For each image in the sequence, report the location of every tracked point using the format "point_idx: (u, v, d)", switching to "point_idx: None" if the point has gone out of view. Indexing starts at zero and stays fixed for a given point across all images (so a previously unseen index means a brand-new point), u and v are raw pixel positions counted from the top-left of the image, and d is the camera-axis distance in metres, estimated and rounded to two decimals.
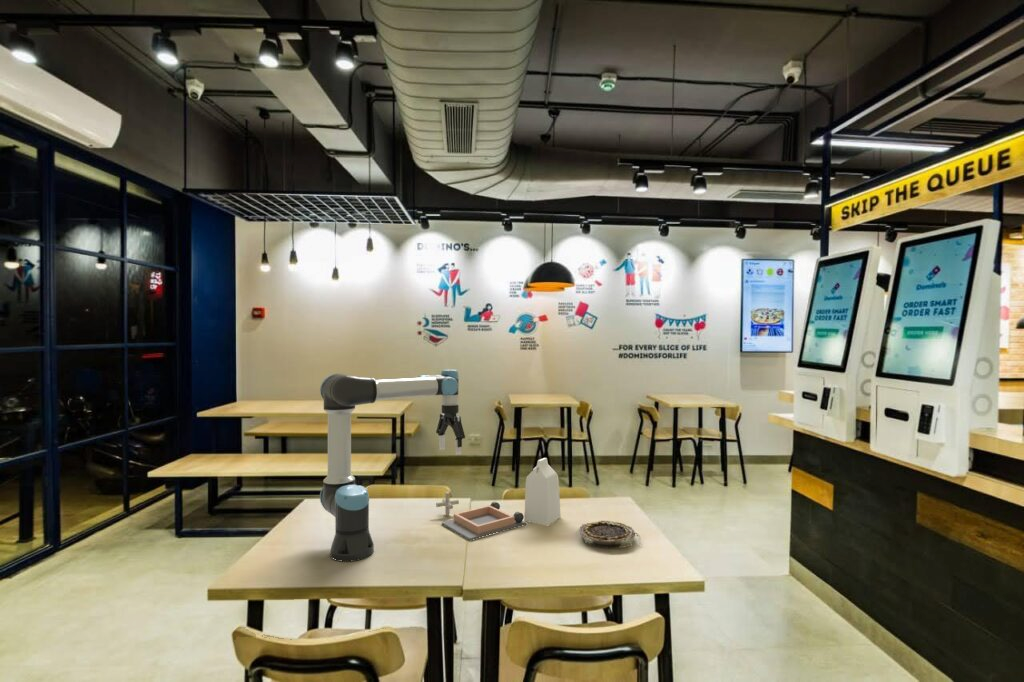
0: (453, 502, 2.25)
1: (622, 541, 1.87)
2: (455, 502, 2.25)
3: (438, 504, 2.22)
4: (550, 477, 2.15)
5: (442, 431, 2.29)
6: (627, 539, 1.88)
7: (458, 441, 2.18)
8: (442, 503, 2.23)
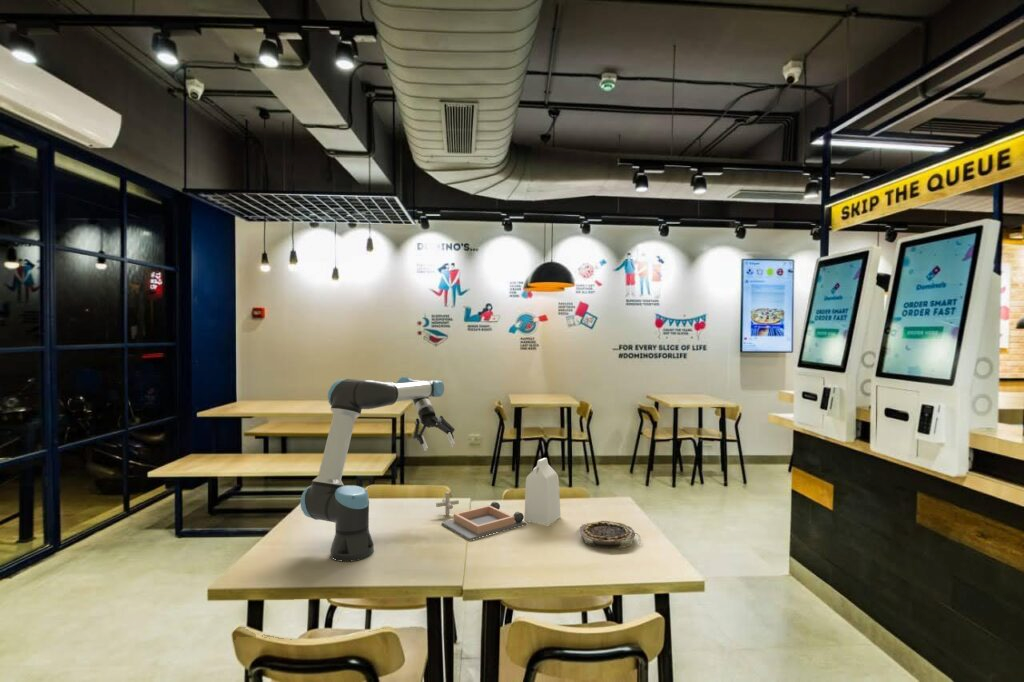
0: (453, 502, 2.25)
1: (622, 541, 1.87)
2: (455, 502, 2.25)
3: (438, 504, 2.22)
4: (550, 477, 2.15)
5: (422, 433, 2.31)
6: (627, 539, 1.88)
7: (451, 433, 2.37)
8: (442, 503, 2.23)
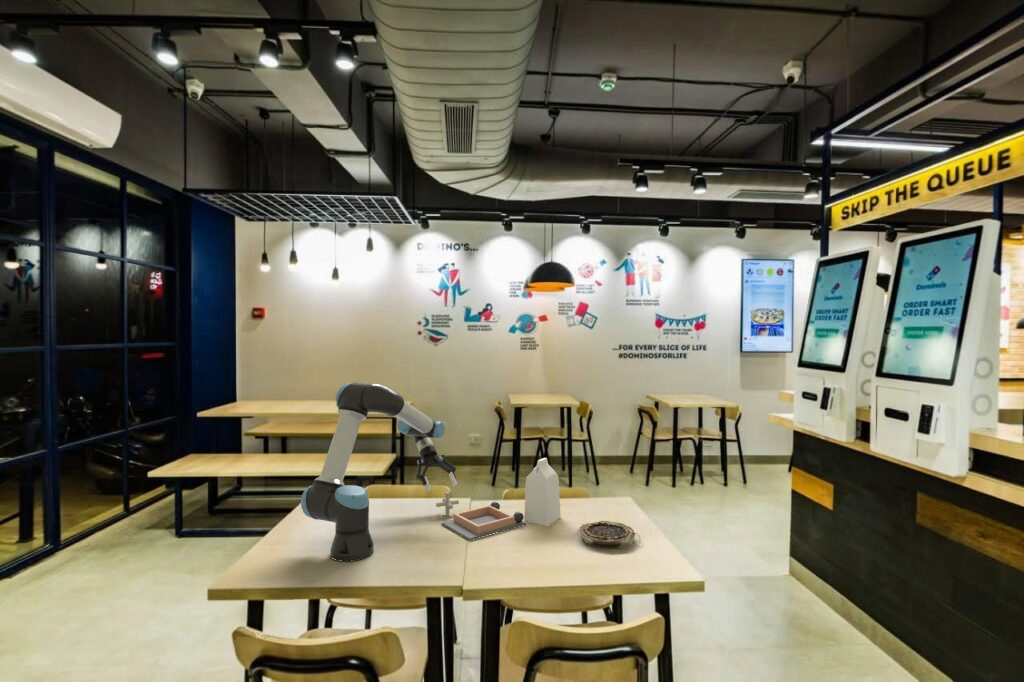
0: (453, 502, 2.25)
1: (622, 541, 1.87)
2: (455, 502, 2.25)
3: (438, 504, 2.22)
4: (550, 477, 2.15)
5: None
6: (627, 539, 1.88)
7: (453, 473, 2.38)
8: (442, 503, 2.23)
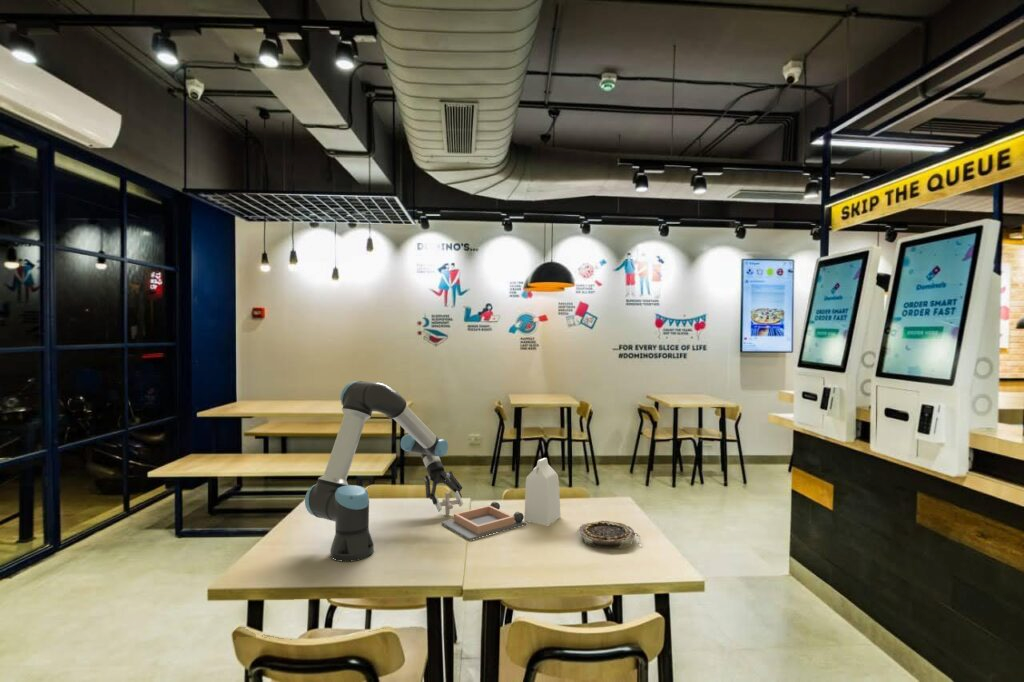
0: (453, 502, 2.25)
1: (622, 541, 1.87)
2: (455, 502, 2.25)
3: None
4: (550, 477, 2.15)
5: None
6: (627, 539, 1.88)
7: (459, 492, 2.29)
8: (442, 503, 2.23)
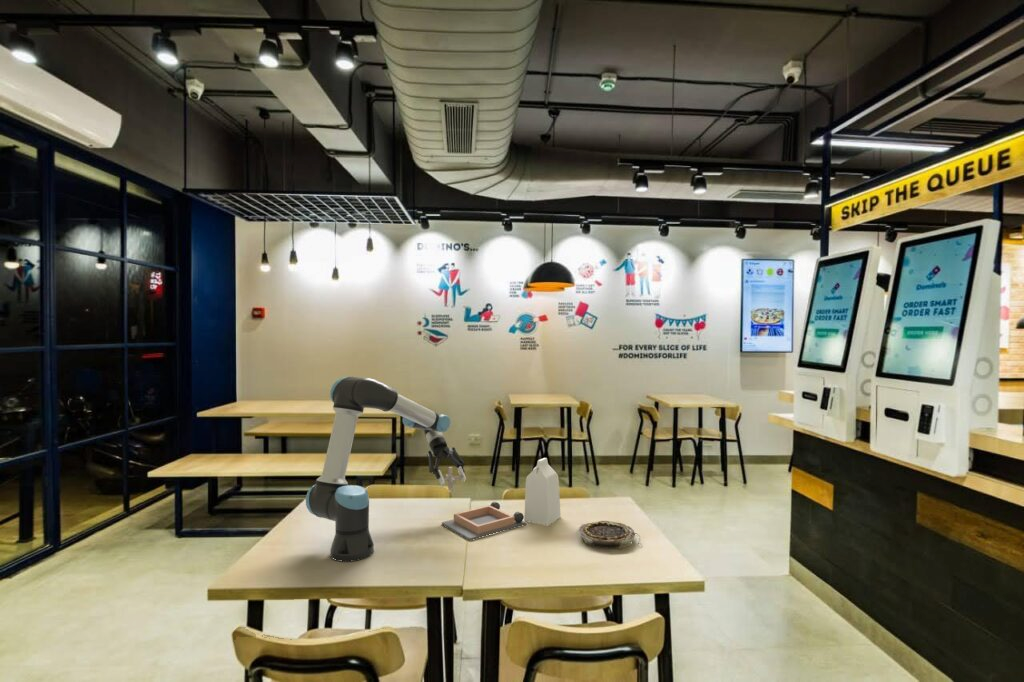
0: (456, 477, 2.25)
1: (622, 541, 1.87)
2: (458, 477, 2.25)
3: None
4: (550, 477, 2.15)
5: None
6: (627, 539, 1.88)
7: (462, 468, 2.29)
8: (445, 478, 2.23)
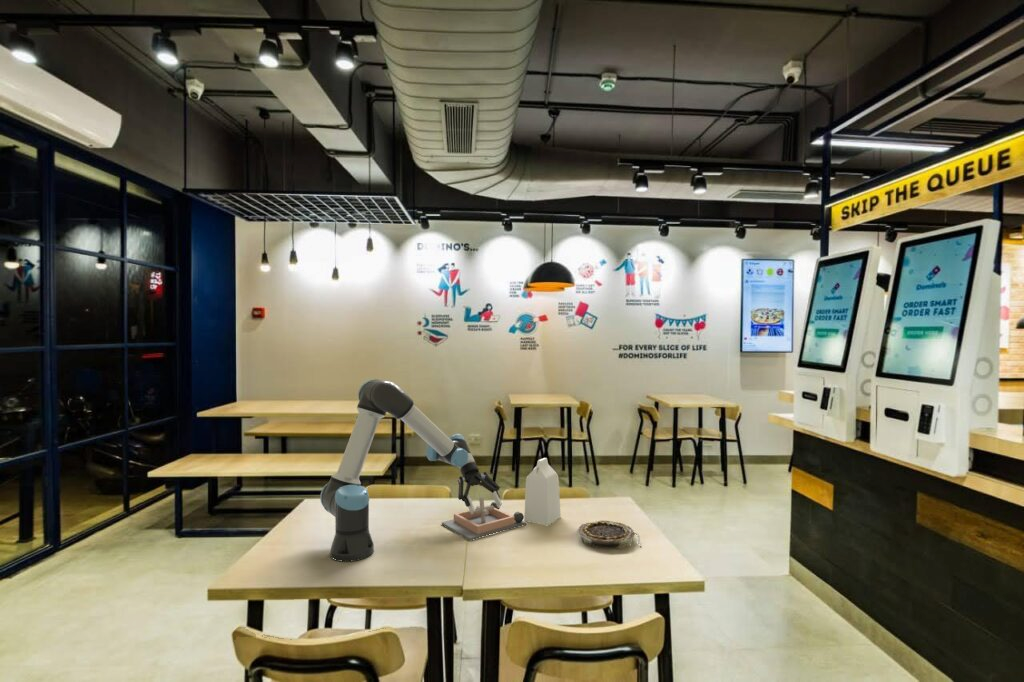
0: (488, 508, 2.13)
1: (621, 541, 1.87)
2: (490, 508, 2.14)
3: None
4: (550, 477, 2.15)
5: (467, 493, 2.12)
6: (626, 539, 1.88)
7: (496, 492, 2.18)
8: (477, 510, 2.11)
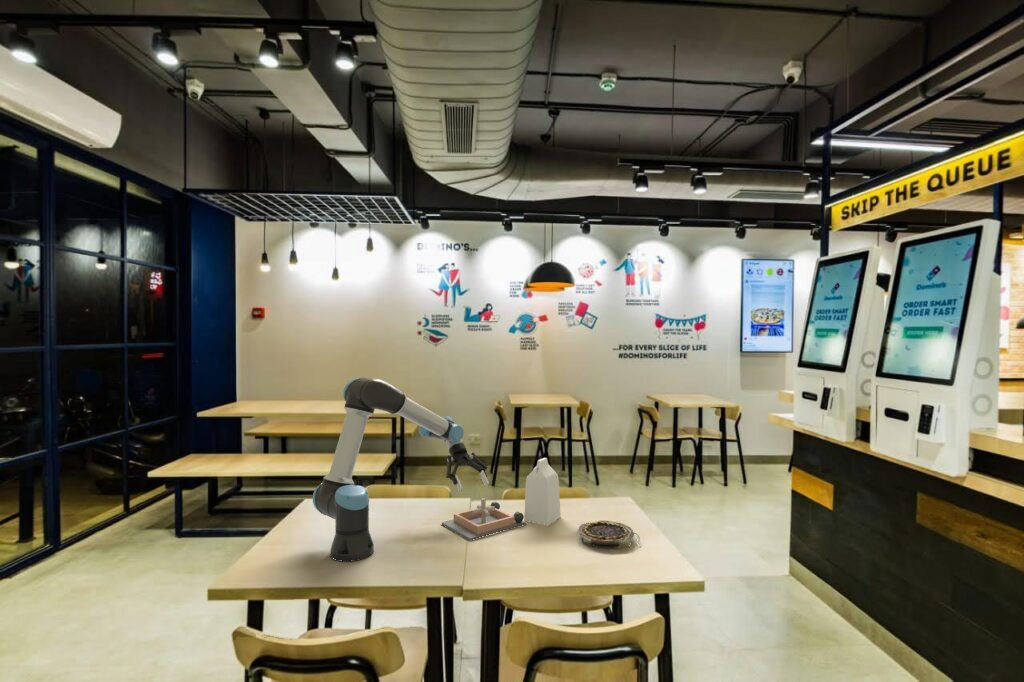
0: (489, 509, 2.13)
1: (620, 541, 1.87)
2: (491, 509, 2.13)
3: (474, 511, 2.10)
4: (550, 477, 2.15)
5: (455, 472, 2.19)
6: (625, 539, 1.88)
7: (484, 472, 2.26)
8: (478, 510, 2.11)
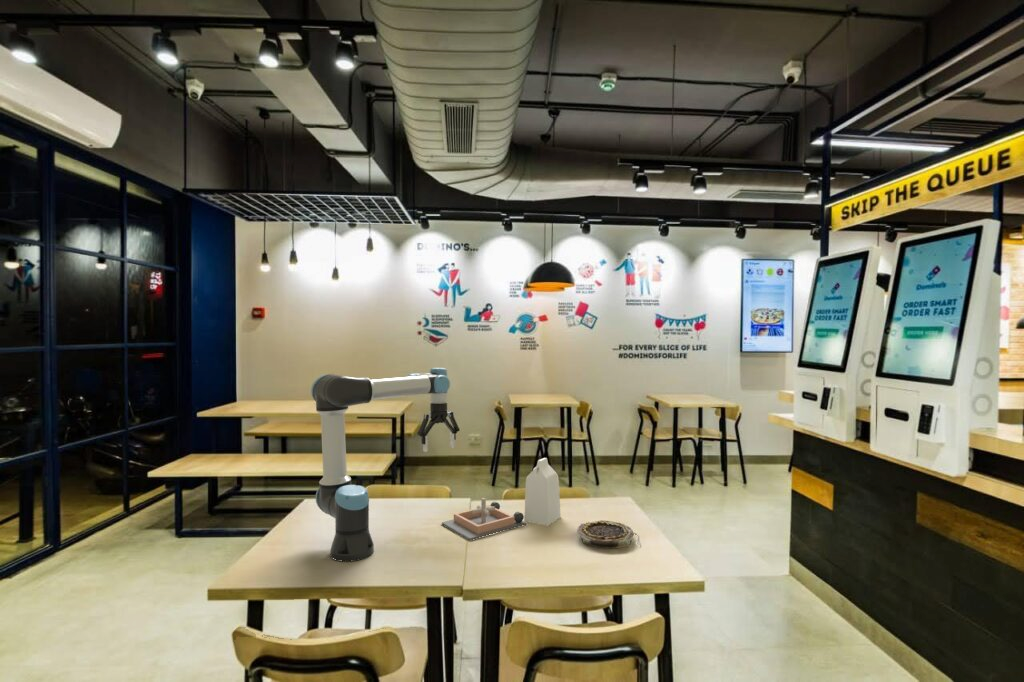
0: (489, 509, 2.13)
1: (619, 541, 1.87)
2: (491, 509, 2.13)
3: (474, 511, 2.10)
4: (550, 477, 2.15)
5: None
6: (624, 539, 1.88)
7: (454, 434, 2.31)
8: (478, 510, 2.11)
